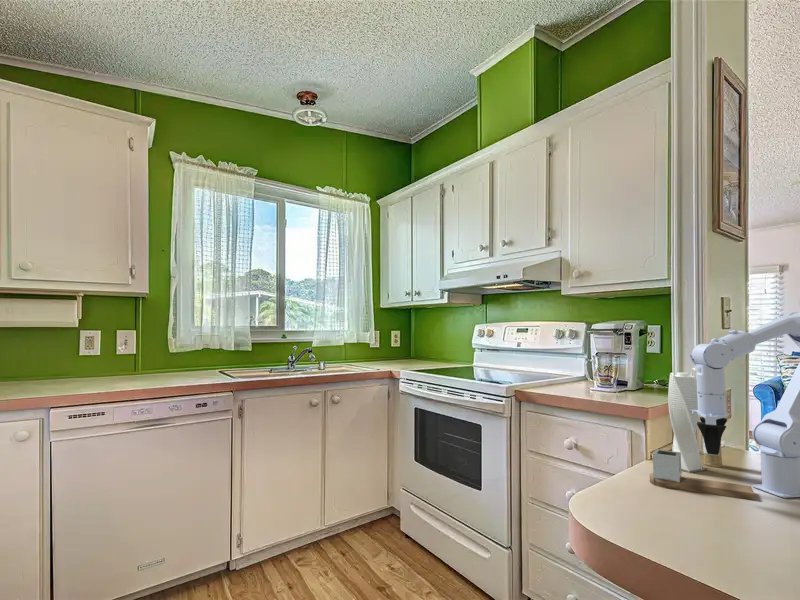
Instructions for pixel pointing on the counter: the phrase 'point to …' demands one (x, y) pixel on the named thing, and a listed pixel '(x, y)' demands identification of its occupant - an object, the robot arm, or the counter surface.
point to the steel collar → (667, 465)
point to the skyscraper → (684, 419)
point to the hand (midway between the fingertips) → (713, 450)
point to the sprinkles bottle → (712, 457)
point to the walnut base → (707, 487)
